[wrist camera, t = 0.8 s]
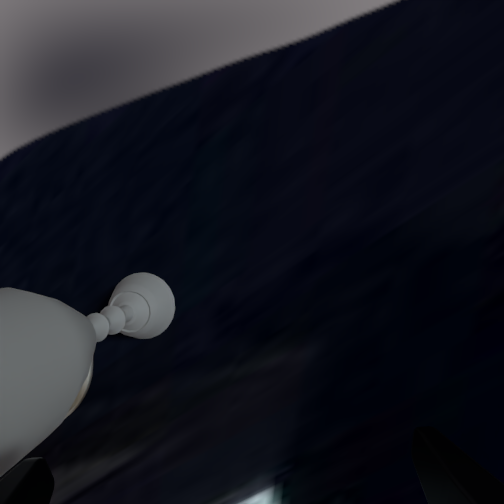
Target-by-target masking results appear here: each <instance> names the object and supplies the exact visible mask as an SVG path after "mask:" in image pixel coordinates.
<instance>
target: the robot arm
mask: <svg viewBox="0 0 504 504" xmlns="http://www.w3.org/2000/svg"><path fill="white" fill-rule="evenodd" d="M411 454H412V459H413V463H414V466H415V468H416V471H417V474H418V477H419V479H420V482H421V485H422V488H423V490H424V493H425V496H426V499H427V501H428V504H504V484H503V483H502V482H500V481H499V480H498V479H497V478H495V477H494V476H493V475H492V474H491V473H489V472H488V471H487V470H486V469H484V468H483V467H482V466H481V465H480V464H478V463H477V462H476V461H475V460H473V459H472V458H471V457H470V456H469V455H467V454H466V453H465V452H464V451H462V450H461V449H460V448H459V447H458V446H456V445H455V444H454V443H453V442H451V441H450V440H449V439H448V438H447V437H445V436H444V435H443V434H442V433H440V432H439V431H438V430H437V429H435V428H434V427H430V426H428V427H417V428H416V429H415V430H414V435H413V442H412V449H411ZM53 490H54V478H53V475H52V473H51V471H50V469H49V466H48V464H47V462H46V460H45V459H44V458H42V457H39V458H28V459H25V460H24V461H22V462H21V463H20V464H18V465H17V466H16V467H15V468H14V469H13V470H12V471H10V472H9V473H8V474H7V475H6V476H5V477H4V478H2V479H1V480H0V504H49V503H50V499H51V496H52V493H53Z"/></svg>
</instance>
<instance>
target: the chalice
mask: <svg viewBox="0 0 504 504" xmlns="http://www.w3.org/2000/svg"><path fill="white" fill-rule="evenodd" d="M174 311H175V302H174V296H173V294H172V292H171V289H170V288H169V286H168V285H167V284H166V283H165V282H164V281H163V280H162V279H160V278H159V277H157V276H156V275H153V274H149V273H145V272H144V273H134V274H132V275H130V276H127V277H125V278H124V279H123V280H122V281H121V282H120V283H118V284H117V286H116V288H115V290H114V291H113V293H112V296H111V298H110V300H109V304H108V306H107V307H105V308H104V309H103V310H102V311H101V312H100V314H99V313H92V314H90V315H88V316H87V317H86V316H84V315H83V314H81V313H80V312H78V311H76V310H74V309H73V308H71V307H69V306H68V305H66V304H64V303H63V302H61V301H59V300H57V299H53V298H50V297H46V296H42V295H39V294H35V293H31V292H27V291H22V290H18V289H14V288H1V289H0V477H1V476H2V475H3V474H4V473H5V472H7V471H8V470H9V469H10V468H11V467H13V466H14V465H15V464H16V463H17V462H18V461H20V460H21V459H22V458H23V457H24V456H26V455H27V454H28V453H29V452H30V451H31V450H33V449H34V448H35V447H36V446H37V445H39V444H40V443H41V442H42V441H43V440H44V439H45V438H47V437H48V436H49V435H50V434H51V433H52V432H53V431H54V430H55V429H56V428H57V427H58V426H59V425H60V424H61V423H62V422H63V420H64V418H65V417H66V415H67V413H68V411H69V409H70V408H71V406H72V404H73V402H74V401H75V399H76V397H77V395H78V393H79V391H80V389H81V388H82V386H83V384H84V382H85V380H86V378H87V376H88V373H89V369H90V366H91V362H92V358H93V354H94V351H95V346H96V342H99V341H102V340H103V339H104V338H105V337H106V336H107V334H110V335H112V334H117V333H119V332H121V333H122V334H124V335H128V336H131V337H135V338H139V339H147V338H152V337H155V336H157V335H159V334H161V333H162V332H163V331H164V330H165V329H166V328H168V326H169V324H170V323H171V321H172V319H173V316H174Z"/></svg>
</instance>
